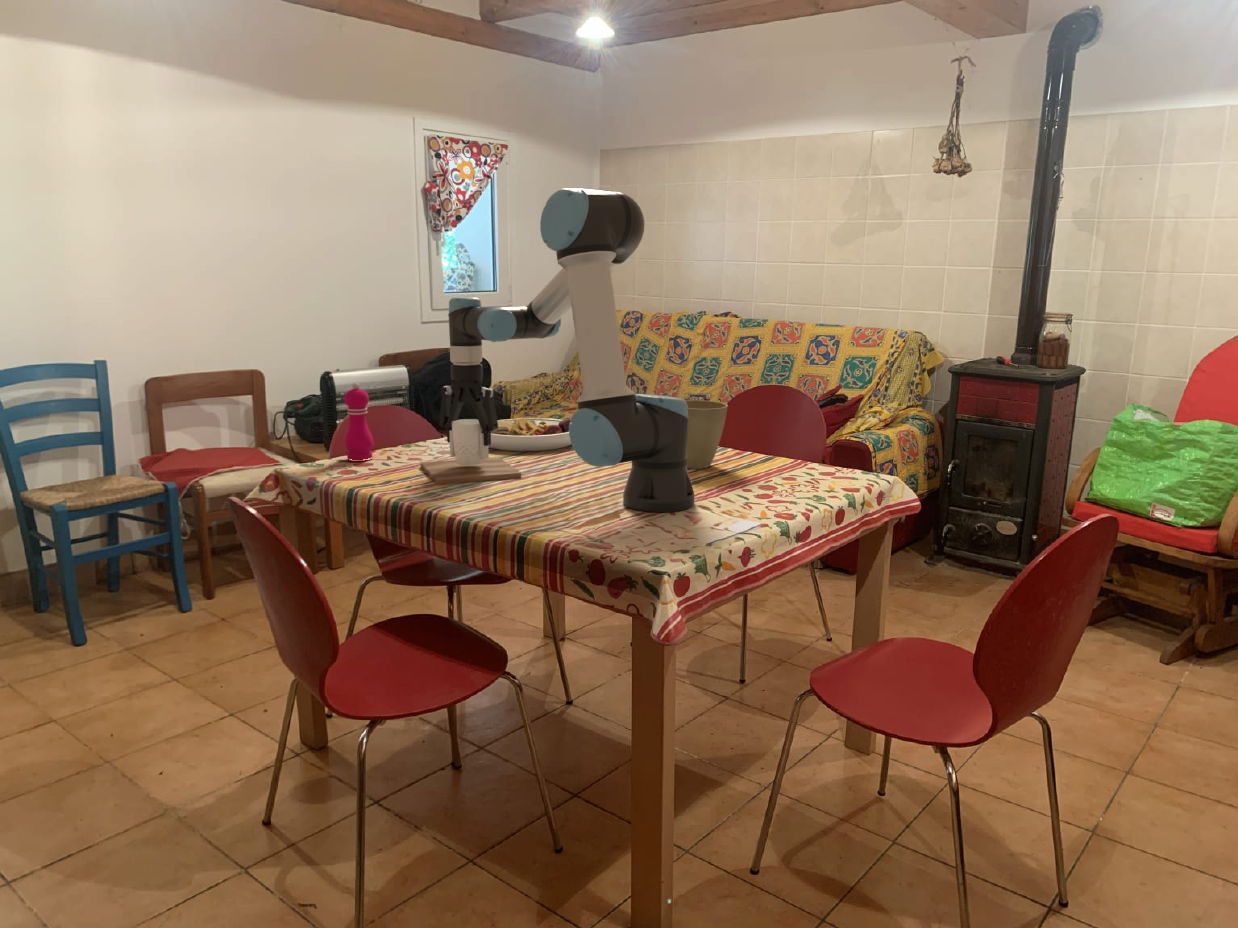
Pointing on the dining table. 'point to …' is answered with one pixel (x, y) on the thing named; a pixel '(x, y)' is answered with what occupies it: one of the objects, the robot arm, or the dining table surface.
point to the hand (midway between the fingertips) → (469, 457)
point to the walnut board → (469, 471)
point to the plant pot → (704, 431)
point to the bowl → (530, 434)
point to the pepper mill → (358, 425)
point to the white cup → (466, 441)
